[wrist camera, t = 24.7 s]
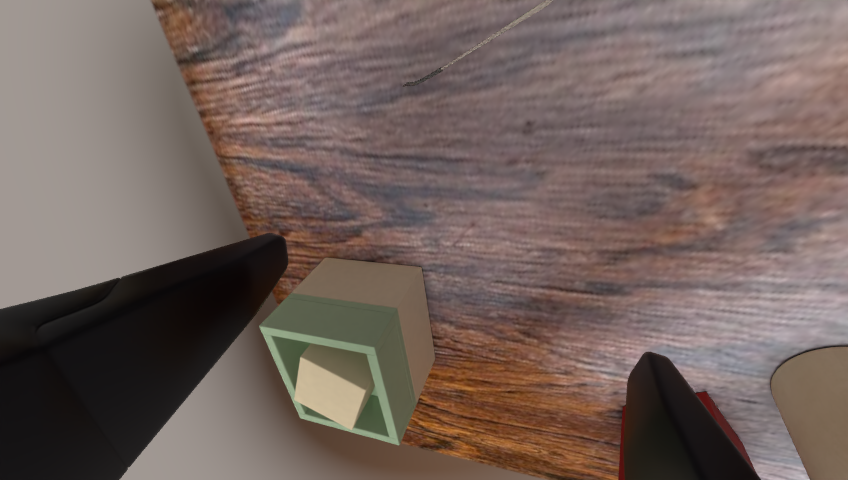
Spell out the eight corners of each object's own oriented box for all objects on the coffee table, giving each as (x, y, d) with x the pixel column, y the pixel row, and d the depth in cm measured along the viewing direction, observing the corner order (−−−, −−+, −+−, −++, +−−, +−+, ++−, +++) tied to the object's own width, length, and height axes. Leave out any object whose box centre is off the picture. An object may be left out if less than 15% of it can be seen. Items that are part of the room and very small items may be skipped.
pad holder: (325, 257, 27) (258, 326, 22) (421, 266, 25) (374, 347, 19) (350, 342, 31) (300, 418, 26) (435, 357, 29) (399, 445, 23)
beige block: (373, 390, 26) (351, 430, 23) (320, 362, 26) (293, 400, 24) (388, 349, 23) (365, 390, 21) (328, 319, 23) (299, 356, 21)
